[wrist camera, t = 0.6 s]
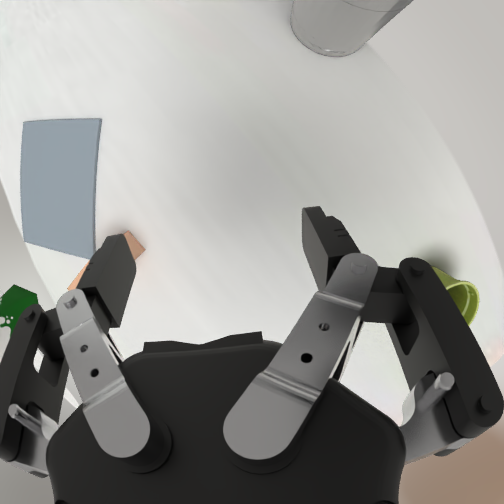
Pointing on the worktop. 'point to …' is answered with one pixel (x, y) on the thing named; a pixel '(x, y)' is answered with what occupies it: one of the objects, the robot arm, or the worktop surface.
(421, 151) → the worktop surface
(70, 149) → the mat
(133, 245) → the terracotta block
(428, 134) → the worktop surface
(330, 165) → the worktop surface
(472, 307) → the plant pot
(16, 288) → the milk carton
